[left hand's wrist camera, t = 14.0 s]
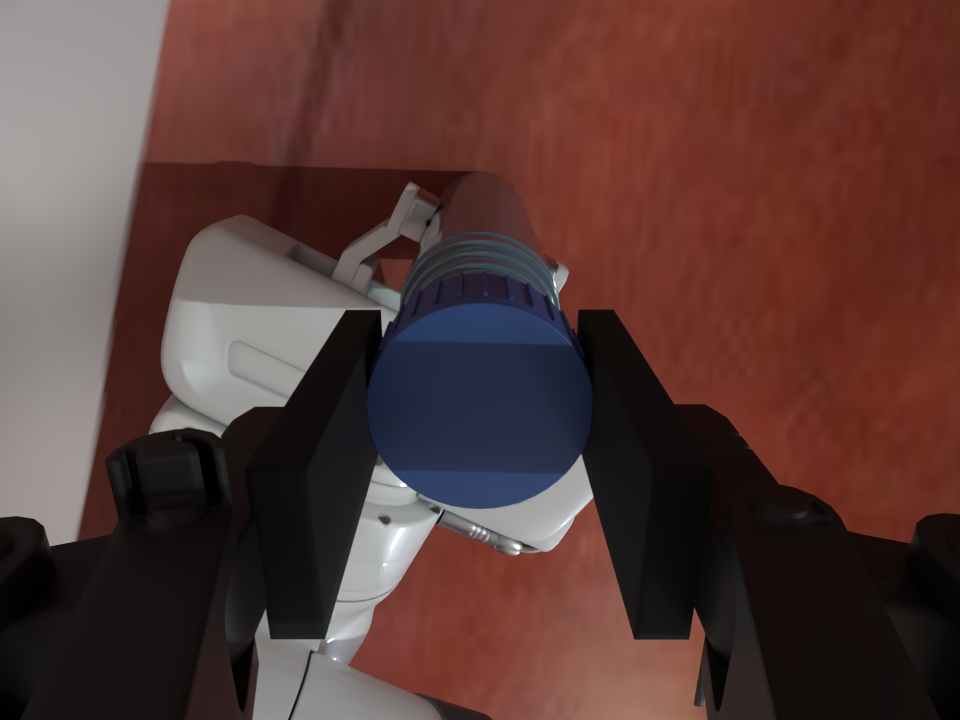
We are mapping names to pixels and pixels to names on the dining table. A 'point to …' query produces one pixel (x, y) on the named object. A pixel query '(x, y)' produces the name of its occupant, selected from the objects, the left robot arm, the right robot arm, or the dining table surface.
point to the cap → (479, 393)
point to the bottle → (479, 238)
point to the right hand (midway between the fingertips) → (489, 225)
